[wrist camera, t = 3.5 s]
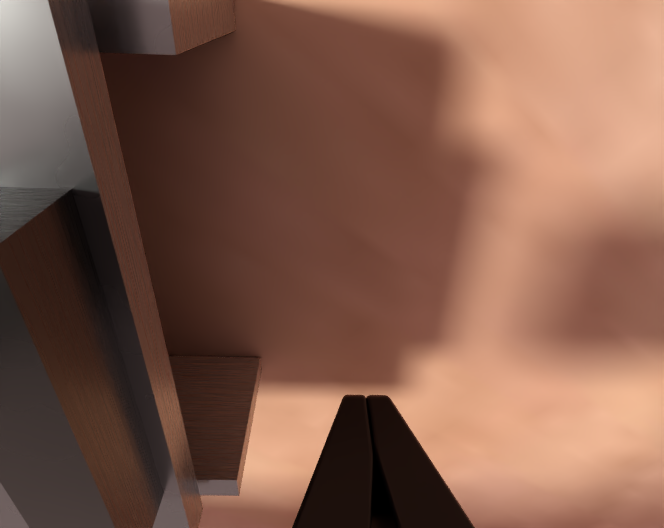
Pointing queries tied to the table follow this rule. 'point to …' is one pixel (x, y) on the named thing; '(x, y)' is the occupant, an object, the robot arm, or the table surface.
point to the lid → (77, 299)
